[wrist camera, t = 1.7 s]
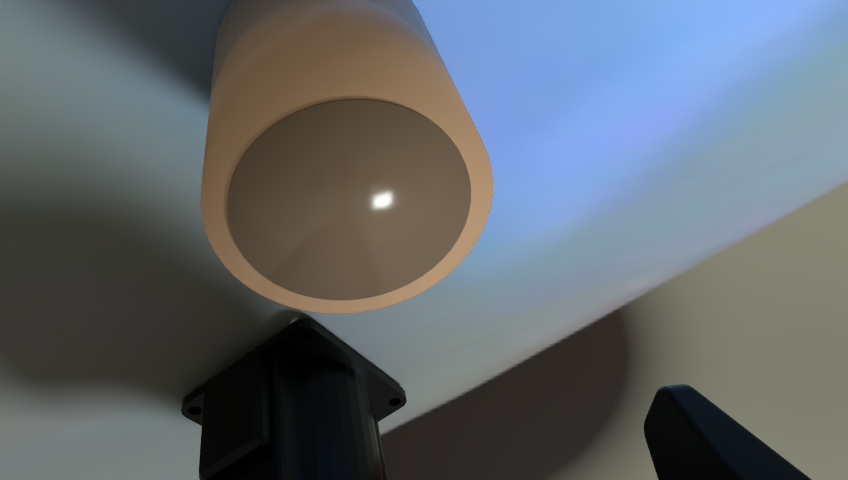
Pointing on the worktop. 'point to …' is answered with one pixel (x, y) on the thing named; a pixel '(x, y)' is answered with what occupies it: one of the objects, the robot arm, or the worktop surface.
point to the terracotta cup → (338, 155)
